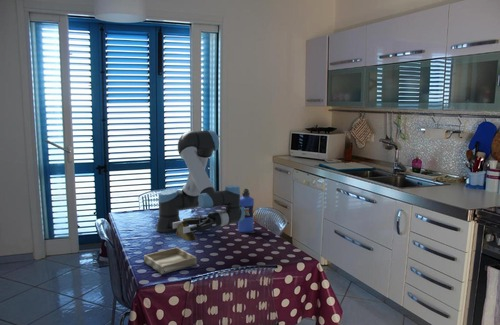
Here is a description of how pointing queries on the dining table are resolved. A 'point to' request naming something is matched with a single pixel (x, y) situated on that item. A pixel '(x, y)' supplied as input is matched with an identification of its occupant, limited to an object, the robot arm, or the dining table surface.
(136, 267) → the dining table surface
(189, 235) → the rock
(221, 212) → the robot arm
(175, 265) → the box
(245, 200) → the blue plastic bottle
